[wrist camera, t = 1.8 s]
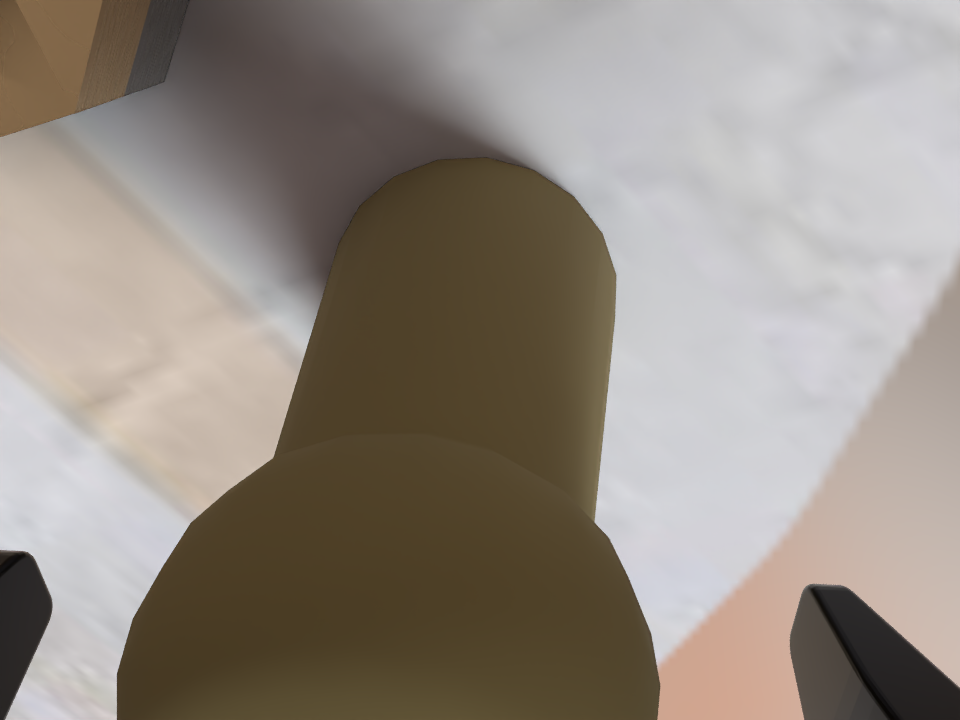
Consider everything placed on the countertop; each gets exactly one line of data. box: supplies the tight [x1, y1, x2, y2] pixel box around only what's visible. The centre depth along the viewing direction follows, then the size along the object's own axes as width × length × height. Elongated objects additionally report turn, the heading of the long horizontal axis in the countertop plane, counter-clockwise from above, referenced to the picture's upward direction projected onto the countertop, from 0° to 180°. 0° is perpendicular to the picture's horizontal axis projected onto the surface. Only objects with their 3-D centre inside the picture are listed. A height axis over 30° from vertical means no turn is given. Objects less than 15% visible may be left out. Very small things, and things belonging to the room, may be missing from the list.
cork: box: [117, 158, 660, 720], centre depth 11 cm, size 6×6×11 cm
